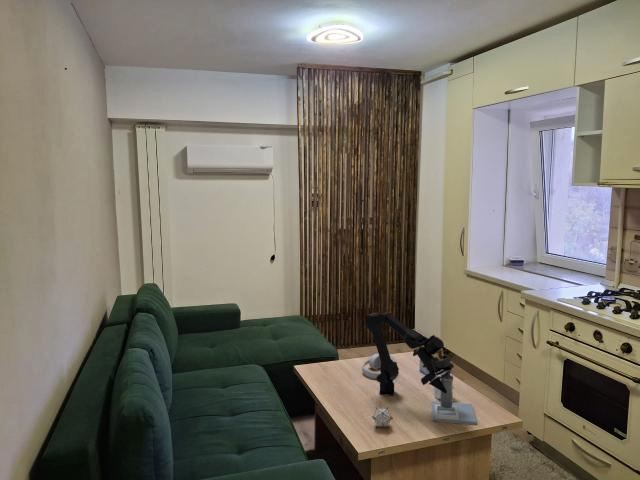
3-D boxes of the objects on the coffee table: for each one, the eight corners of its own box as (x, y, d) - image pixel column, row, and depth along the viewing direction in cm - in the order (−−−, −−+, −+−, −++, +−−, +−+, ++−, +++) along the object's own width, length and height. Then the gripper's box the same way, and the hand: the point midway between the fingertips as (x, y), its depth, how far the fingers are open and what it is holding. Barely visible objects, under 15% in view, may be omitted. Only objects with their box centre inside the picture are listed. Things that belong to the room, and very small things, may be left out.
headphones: (369, 361, 266) (358, 380, 248) (368, 349, 264) (357, 367, 246) (401, 366, 258) (392, 386, 241) (401, 353, 256) (391, 372, 239)
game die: (384, 437, 196) (386, 426, 189) (367, 425, 200) (368, 414, 193) (395, 420, 201) (397, 409, 194) (378, 409, 205) (379, 398, 198)
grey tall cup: (437, 405, 205) (438, 376, 203) (444, 401, 208) (445, 373, 206) (448, 409, 201) (449, 380, 199) (455, 405, 204) (455, 376, 203)
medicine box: (419, 371, 253) (419, 356, 252) (425, 370, 255) (426, 354, 254) (428, 377, 246) (428, 361, 245) (435, 375, 248) (435, 359, 246)
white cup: (450, 400, 219) (451, 380, 218) (433, 399, 221) (433, 379, 219) (449, 393, 227) (449, 373, 226) (432, 392, 228) (433, 372, 227)
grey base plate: (432, 420, 201) (432, 415, 201) (431, 403, 217) (431, 397, 217) (476, 424, 198) (476, 418, 198) (472, 406, 213) (472, 400, 213)
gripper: (427, 356, 198) (450, 389, 191) (450, 345, 211) (472, 375, 204) (411, 368, 204) (433, 401, 198) (435, 357, 217) (456, 387, 211)
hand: (449, 390), depth 203 cm, fingers closed on grey tall cup, 5 cm apart
